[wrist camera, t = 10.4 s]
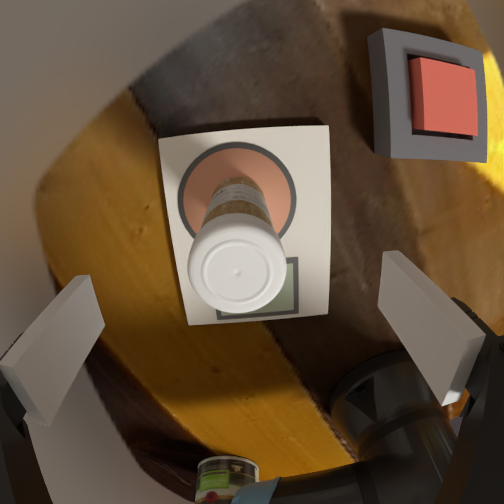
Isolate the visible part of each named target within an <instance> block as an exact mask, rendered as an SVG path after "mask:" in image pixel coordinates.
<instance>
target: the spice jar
mask: <svg viewBox="0 0 504 504" xmlns="http://www.w3.org/2000/svg"><path fill="white" fill-rule="evenodd" d="M286 271H287V264H286V257H285V253H284V249H283V246H282V243H281V241H280V238H279V236H278V235H277V233H276V232H275V230H274V227H273V223H272V220H271V217H270V214H269V211H268V208H267V205H266V202H265V197H264V194H263V191H262V189H261V188H260V187H259V186H258V184H256V183H255V182H254V181H253V180H250V179H249V178H246V177H231V178H228V179H226V180H224V181H223V182H221V183H220V184H219V185H218V186H217V187H216V188H215V190H214V192H213V194H212V197H211V201H210V203H209V206H208V209H207V211H206V213H205V216H204V219H203V222H202V225H201V229H200V230H199V232H198V233H197V235H196V237H195V239H194V241H193V244H192V246H191V249H190V253H189V257H188V263H187V273H188V277H189V281H190V284H191V286H192V288H193V290H194V291H195V292H196V294H197V295H198V296H199V297H200V298H201V299H202V300H203V301H204V302H205V303H207V304H208V305H209V306H211V307H213V308H215V309H217V310H220V311H224V312H229V313H245V312H250V311H254V310H256V309H259V308H261V307H263V306H264V305H266V304H268V303H269V302H270V301H271V300H273V298H274V297H275V296H276V295H277V294H278V293H279V291H280V290H281V288H282V286H283V284H284V281H285V277H286Z"/></svg>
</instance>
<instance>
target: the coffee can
mask: <svg viewBox="0 0 504 504" xmlns="http://www.w3.org/2000/svg"><path fill="white" fill-rule="evenodd" d="M254 482H259V480H258V466H257V465H256V464H255V463H254V462H253V461H251V460H249V459H246V458H242V457H237V456H214V457H210V458H206V459H204V460H202V461H201V462H200V463H199V464H198V475H197V487H196V499H195V504H231V502H232V499H233V497H234V495H235V494H236V492H237V491H238V490H239V489H240V488H241V487H242V486H244V485H246V484H249V483H254Z"/></svg>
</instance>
